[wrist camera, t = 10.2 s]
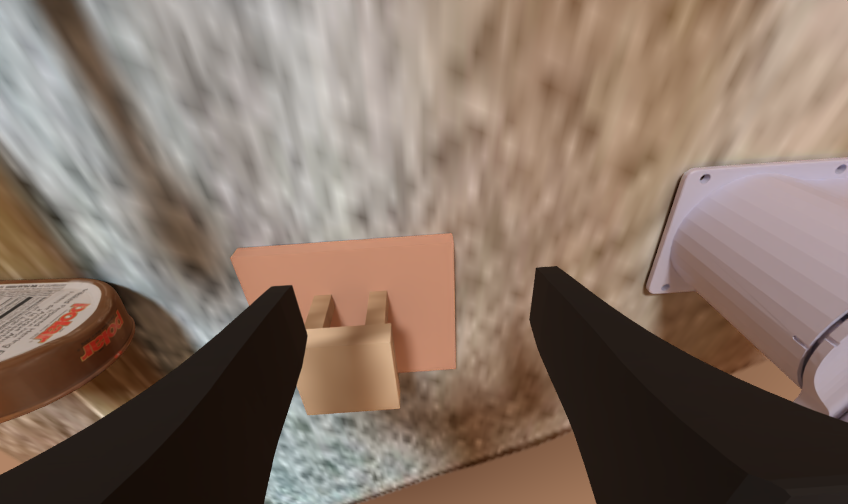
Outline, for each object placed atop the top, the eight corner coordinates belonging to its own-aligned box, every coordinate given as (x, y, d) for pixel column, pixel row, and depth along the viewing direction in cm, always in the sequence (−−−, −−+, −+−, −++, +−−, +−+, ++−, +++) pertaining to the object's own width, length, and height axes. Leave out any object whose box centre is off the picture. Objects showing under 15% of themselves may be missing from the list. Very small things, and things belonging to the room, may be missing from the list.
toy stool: (393, 284, 21) (390, 342, 17) (400, 346, 24) (399, 408, 20) (305, 290, 21) (283, 349, 17) (323, 352, 24) (307, 415, 20)
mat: (451, 233, 21) (453, 242, 20) (454, 357, 26) (455, 368, 25) (237, 248, 21) (230, 257, 20) (283, 369, 26) (279, 381, 25)
